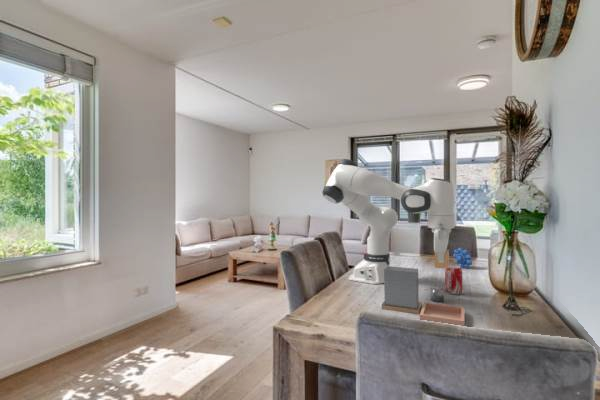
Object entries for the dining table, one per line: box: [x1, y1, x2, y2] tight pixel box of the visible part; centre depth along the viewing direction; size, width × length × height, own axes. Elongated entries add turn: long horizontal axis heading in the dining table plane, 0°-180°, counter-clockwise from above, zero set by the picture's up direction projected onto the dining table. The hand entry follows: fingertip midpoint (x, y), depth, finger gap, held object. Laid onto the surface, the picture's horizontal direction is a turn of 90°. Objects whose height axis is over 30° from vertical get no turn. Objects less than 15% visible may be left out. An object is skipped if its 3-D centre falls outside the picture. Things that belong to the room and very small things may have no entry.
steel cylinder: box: [430, 286, 445, 304], centre depth 131 cm, size 5×5×5 cm
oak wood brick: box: [433, 249, 450, 269], centre depth 113 cm, size 4×4×7 cm
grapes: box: [452, 247, 473, 269], centre depth 186 cm, size 12×7×12 cm, turn 29°
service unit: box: [381, 265, 423, 315], centre depth 124 cm, size 14×10×16 cm
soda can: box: [444, 264, 464, 295], centre depth 141 cm, size 7×7×12 cm
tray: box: [419, 301, 466, 326], centre depth 113 cm, size 14×14×2 cm
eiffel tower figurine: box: [501, 275, 534, 318], centre depth 120 cm, size 15×10×13 cm
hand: (441, 261), depth 113 cm, fingers closed on oak wood brick, 4 cm apart
